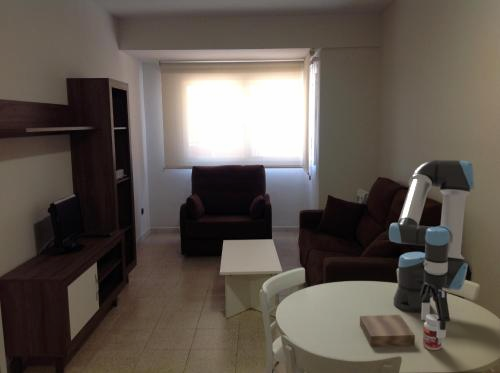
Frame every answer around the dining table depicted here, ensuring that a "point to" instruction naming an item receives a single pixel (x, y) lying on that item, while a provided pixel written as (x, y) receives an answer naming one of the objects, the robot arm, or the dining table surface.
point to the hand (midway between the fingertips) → (432, 328)
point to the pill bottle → (431, 333)
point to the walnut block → (386, 330)
